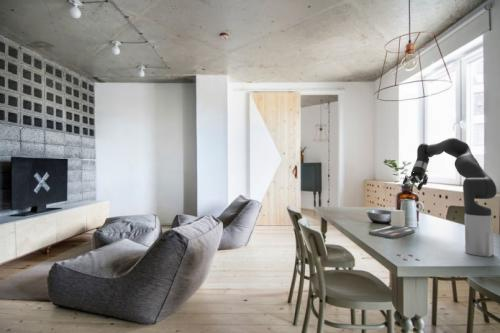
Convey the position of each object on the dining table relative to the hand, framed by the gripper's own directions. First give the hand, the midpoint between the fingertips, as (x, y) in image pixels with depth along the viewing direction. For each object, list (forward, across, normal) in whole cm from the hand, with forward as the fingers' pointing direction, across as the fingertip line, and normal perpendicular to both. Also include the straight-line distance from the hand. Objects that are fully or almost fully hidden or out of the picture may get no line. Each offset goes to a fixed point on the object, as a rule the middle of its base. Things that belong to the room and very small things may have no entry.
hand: (411, 189), depth 179 cm
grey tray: (+34, -1, +4) cm, 34 cm away
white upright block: (+28, 0, -1) cm, 28 cm away
